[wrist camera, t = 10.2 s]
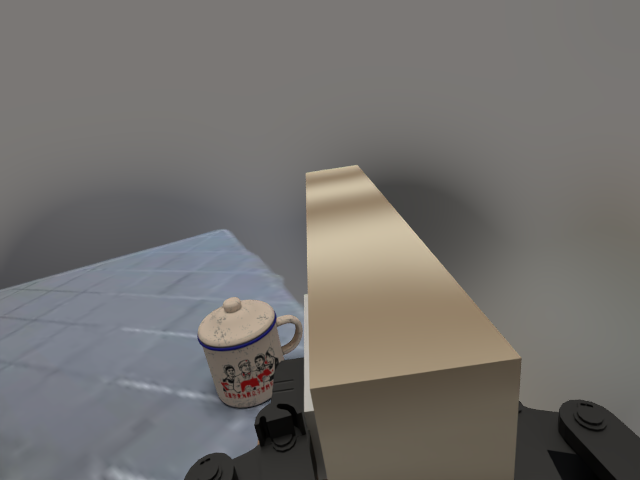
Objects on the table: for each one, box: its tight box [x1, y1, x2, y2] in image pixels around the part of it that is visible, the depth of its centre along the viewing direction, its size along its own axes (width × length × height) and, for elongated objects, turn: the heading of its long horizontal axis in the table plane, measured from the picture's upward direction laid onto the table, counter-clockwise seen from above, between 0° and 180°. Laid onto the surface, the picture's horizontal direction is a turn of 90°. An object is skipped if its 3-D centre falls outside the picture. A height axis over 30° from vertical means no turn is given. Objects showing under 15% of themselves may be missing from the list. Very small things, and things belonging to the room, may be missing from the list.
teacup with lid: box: [198, 297, 303, 407], centre depth 43 cm, size 12×9×12 cm
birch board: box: [306, 165, 521, 480], centre depth 15 cm, size 17×3×12 cm, turn 2°
